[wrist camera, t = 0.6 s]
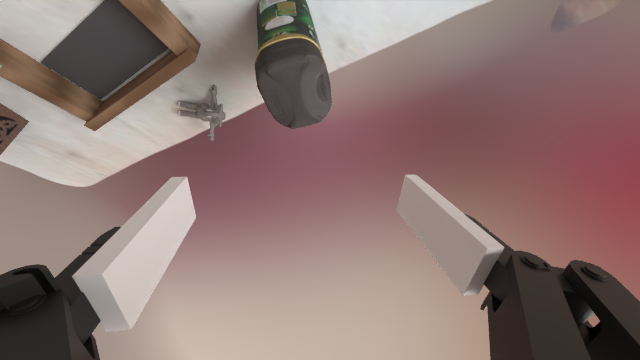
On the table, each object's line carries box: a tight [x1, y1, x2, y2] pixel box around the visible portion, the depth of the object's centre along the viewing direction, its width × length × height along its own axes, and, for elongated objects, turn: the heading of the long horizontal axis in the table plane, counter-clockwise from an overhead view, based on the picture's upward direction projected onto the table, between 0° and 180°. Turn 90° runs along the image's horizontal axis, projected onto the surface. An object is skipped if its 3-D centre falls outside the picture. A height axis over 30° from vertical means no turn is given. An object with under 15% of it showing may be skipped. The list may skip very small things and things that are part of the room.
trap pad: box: [41, 0, 168, 99], centre depth 34 cm, size 8×19×1 cm, turn 116°
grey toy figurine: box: [178, 85, 225, 141], centre depth 42 cm, size 10×6×9 cm
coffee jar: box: [255, 0, 332, 129], centre depth 29 cm, size 10×8×19 cm
